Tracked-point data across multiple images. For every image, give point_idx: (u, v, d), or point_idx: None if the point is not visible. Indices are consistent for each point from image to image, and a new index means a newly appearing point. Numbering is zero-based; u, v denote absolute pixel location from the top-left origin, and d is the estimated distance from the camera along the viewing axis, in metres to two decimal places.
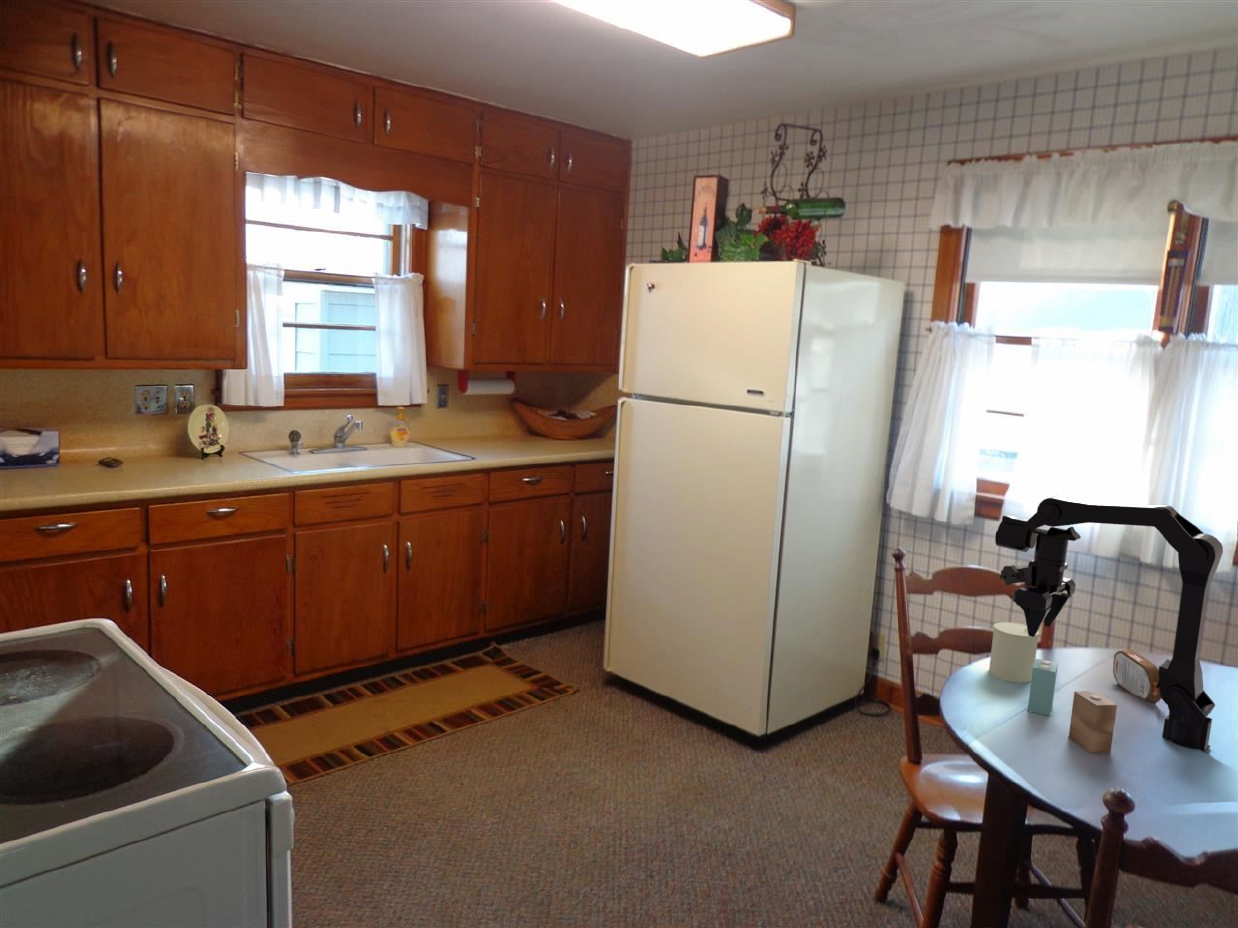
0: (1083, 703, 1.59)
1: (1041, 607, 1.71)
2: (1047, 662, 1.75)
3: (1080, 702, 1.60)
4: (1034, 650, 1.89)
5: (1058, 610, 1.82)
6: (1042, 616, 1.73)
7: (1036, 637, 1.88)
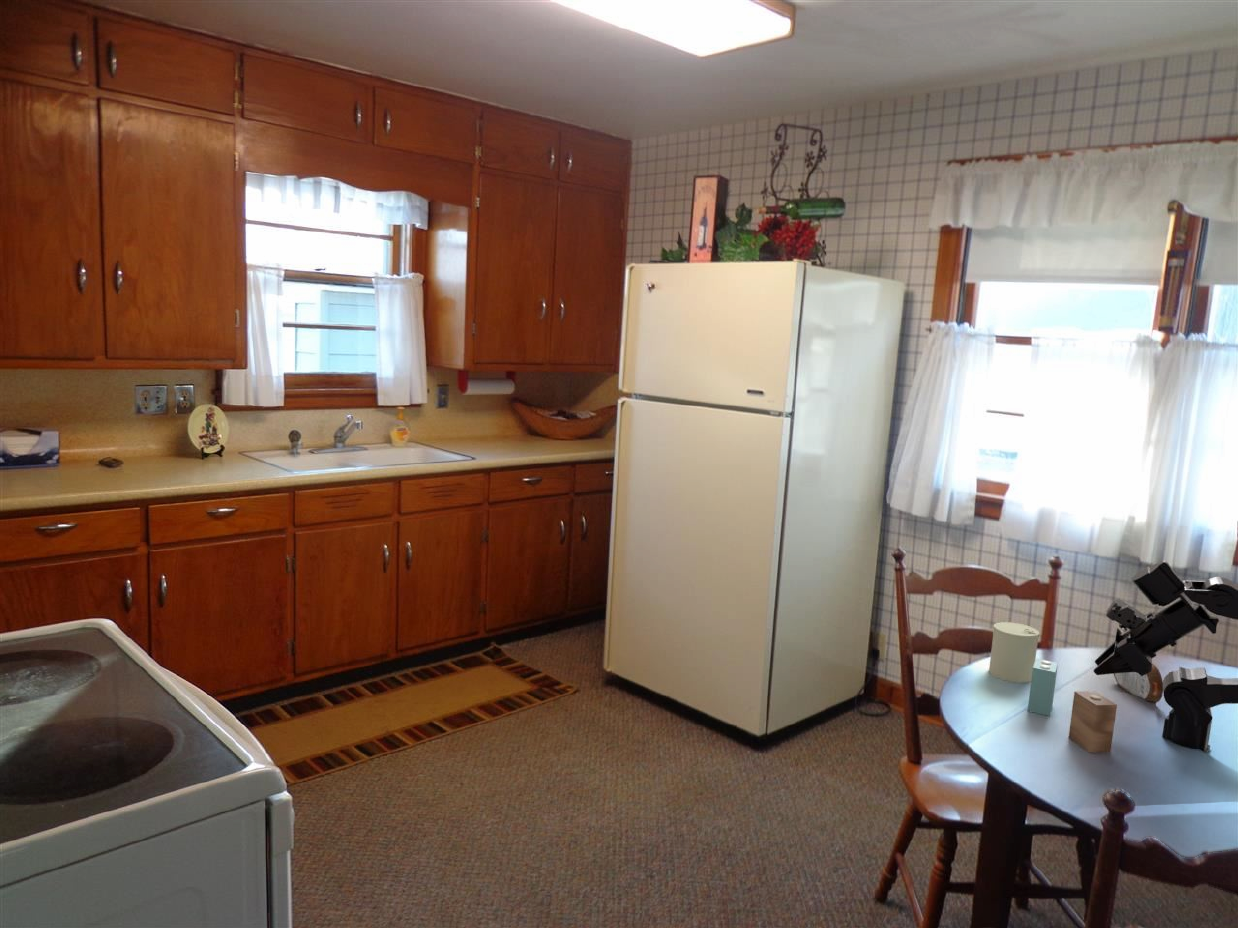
0: (1083, 703, 1.59)
1: (1141, 673, 1.58)
2: (1047, 662, 1.75)
3: (1080, 702, 1.60)
4: (1034, 650, 1.89)
5: None
6: (1126, 671, 1.63)
7: (1036, 637, 1.88)
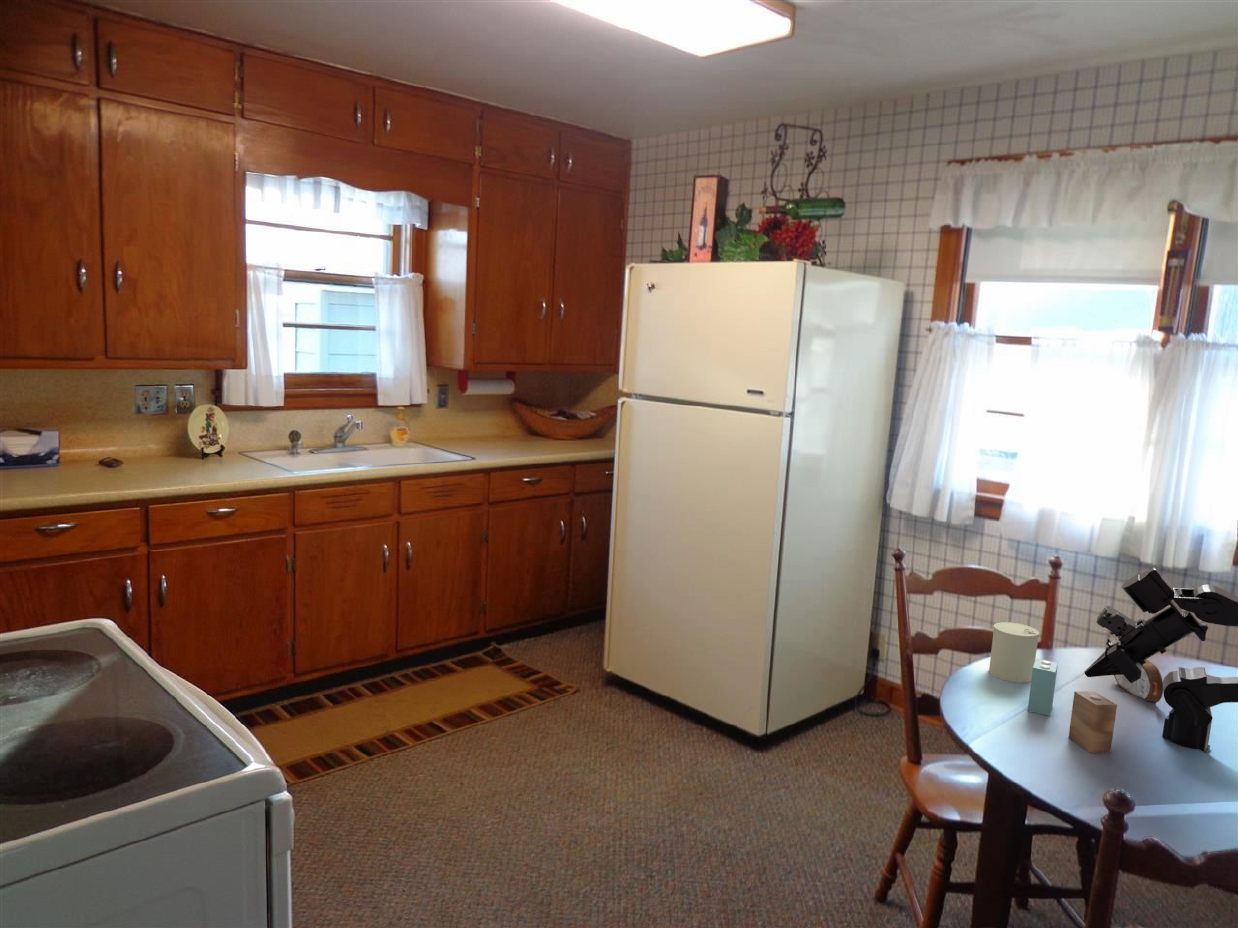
0: (1083, 703, 1.59)
1: (1130, 680, 1.59)
2: (1047, 662, 1.75)
3: (1080, 702, 1.60)
4: (1034, 650, 1.89)
5: None
6: (1117, 673, 1.66)
7: (1036, 637, 1.88)
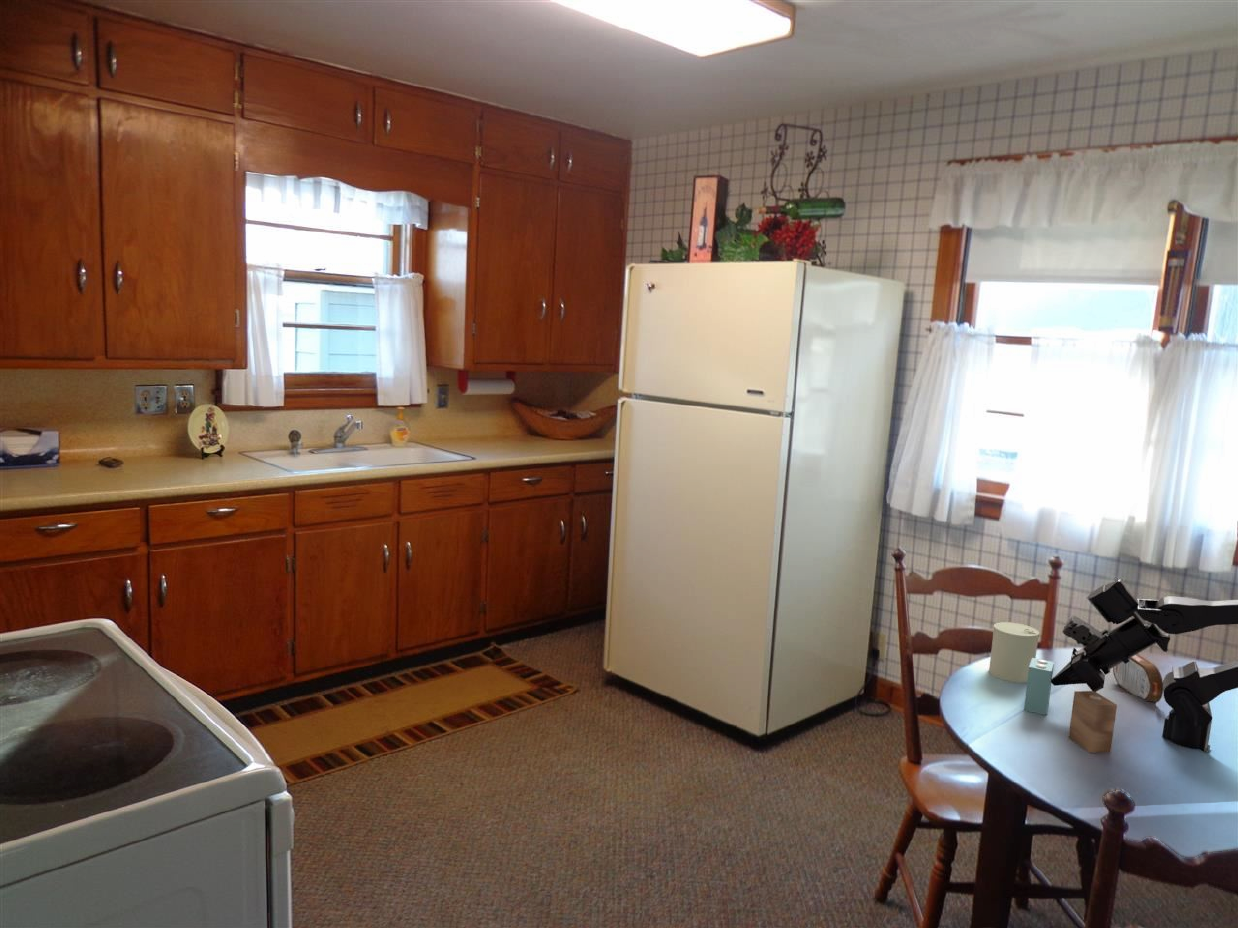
0: (1083, 703, 1.59)
1: (1093, 690, 1.62)
2: (1043, 661, 1.76)
3: (1080, 702, 1.60)
4: (1034, 650, 1.89)
5: None
6: (1082, 682, 1.69)
7: (1036, 637, 1.88)
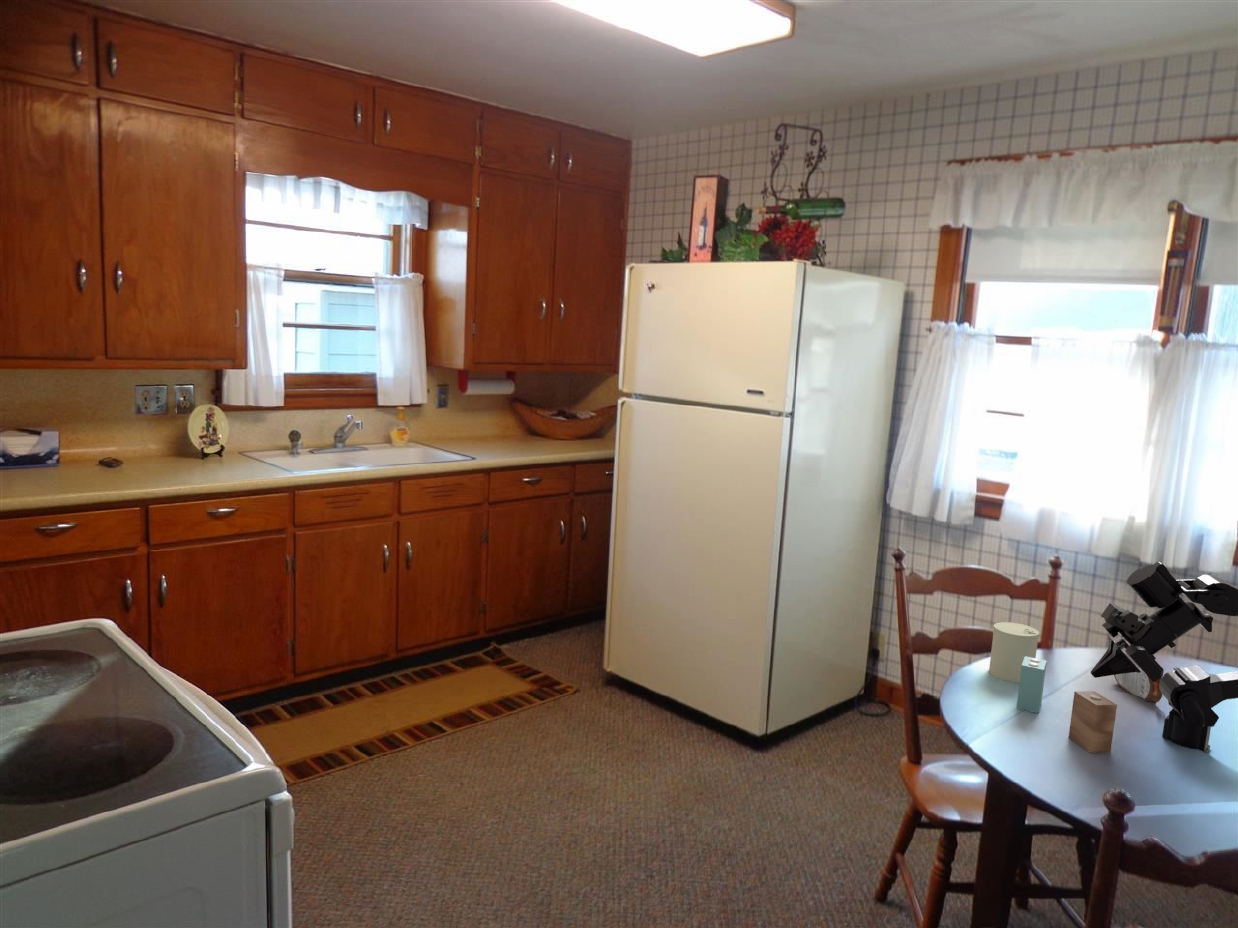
0: (1083, 703, 1.59)
1: (1153, 680, 1.55)
2: (1036, 660, 1.76)
3: (1080, 702, 1.60)
4: (1034, 650, 1.89)
5: None
6: (1126, 671, 1.62)
7: (1036, 637, 1.88)
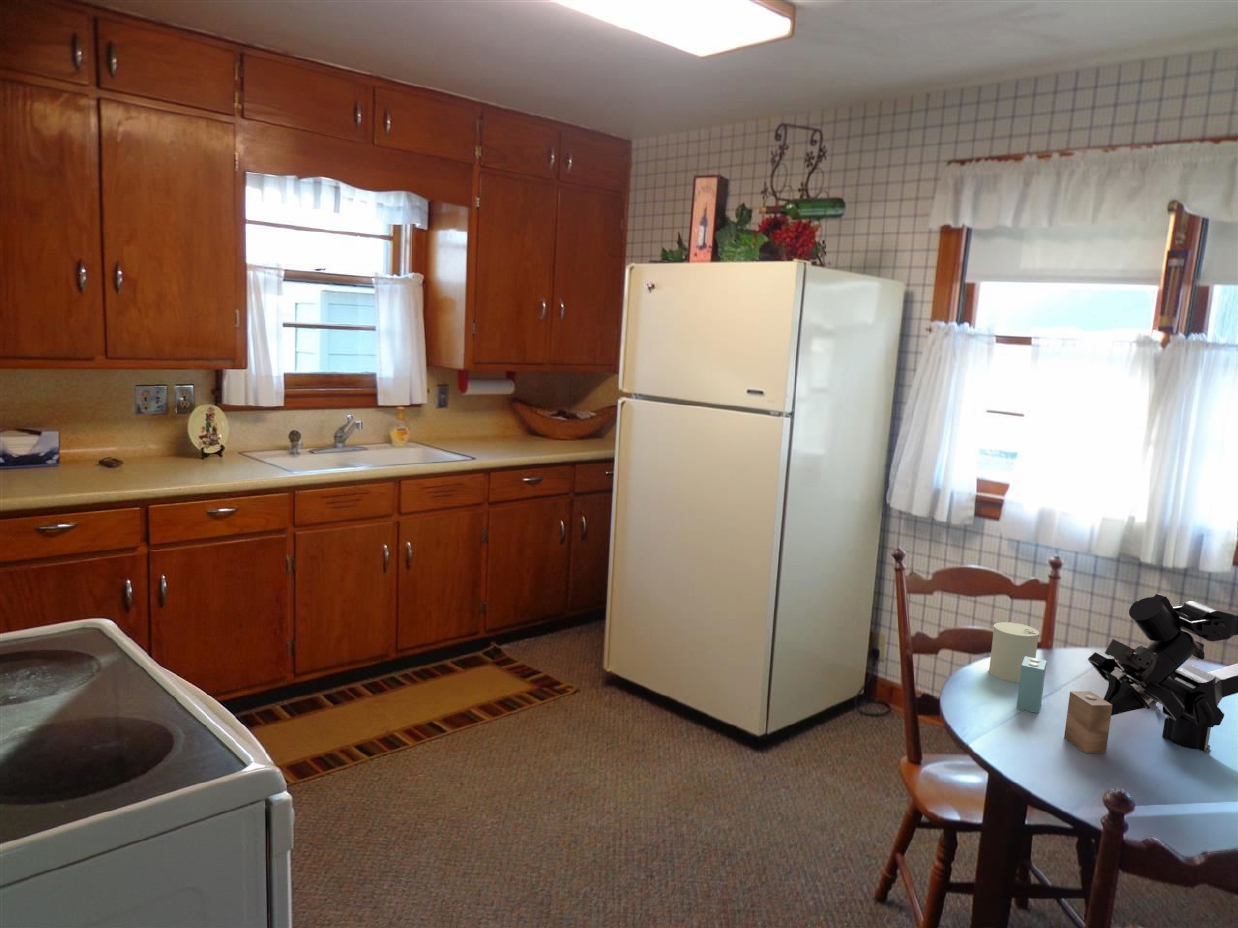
0: (1079, 703, 1.59)
1: (1177, 718, 1.51)
2: (1036, 660, 1.76)
3: (1076, 702, 1.60)
4: (1034, 650, 1.89)
5: None
6: (1134, 708, 1.58)
7: (1036, 637, 1.88)
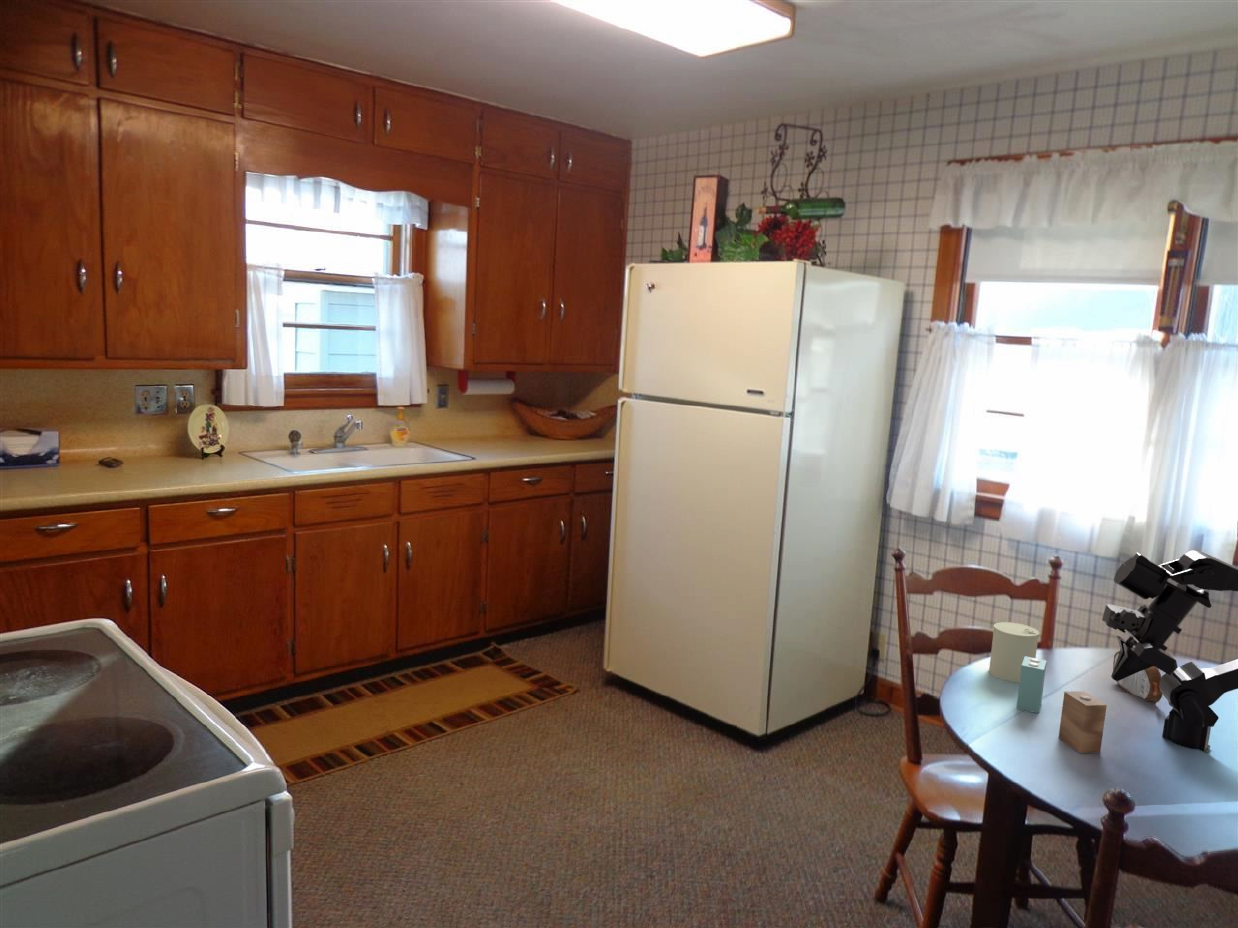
0: (1073, 703, 1.59)
1: (1170, 673, 1.54)
2: (1036, 660, 1.76)
3: (1070, 702, 1.60)
4: (1034, 650, 1.89)
5: None
6: (1144, 667, 1.62)
7: (1036, 637, 1.88)
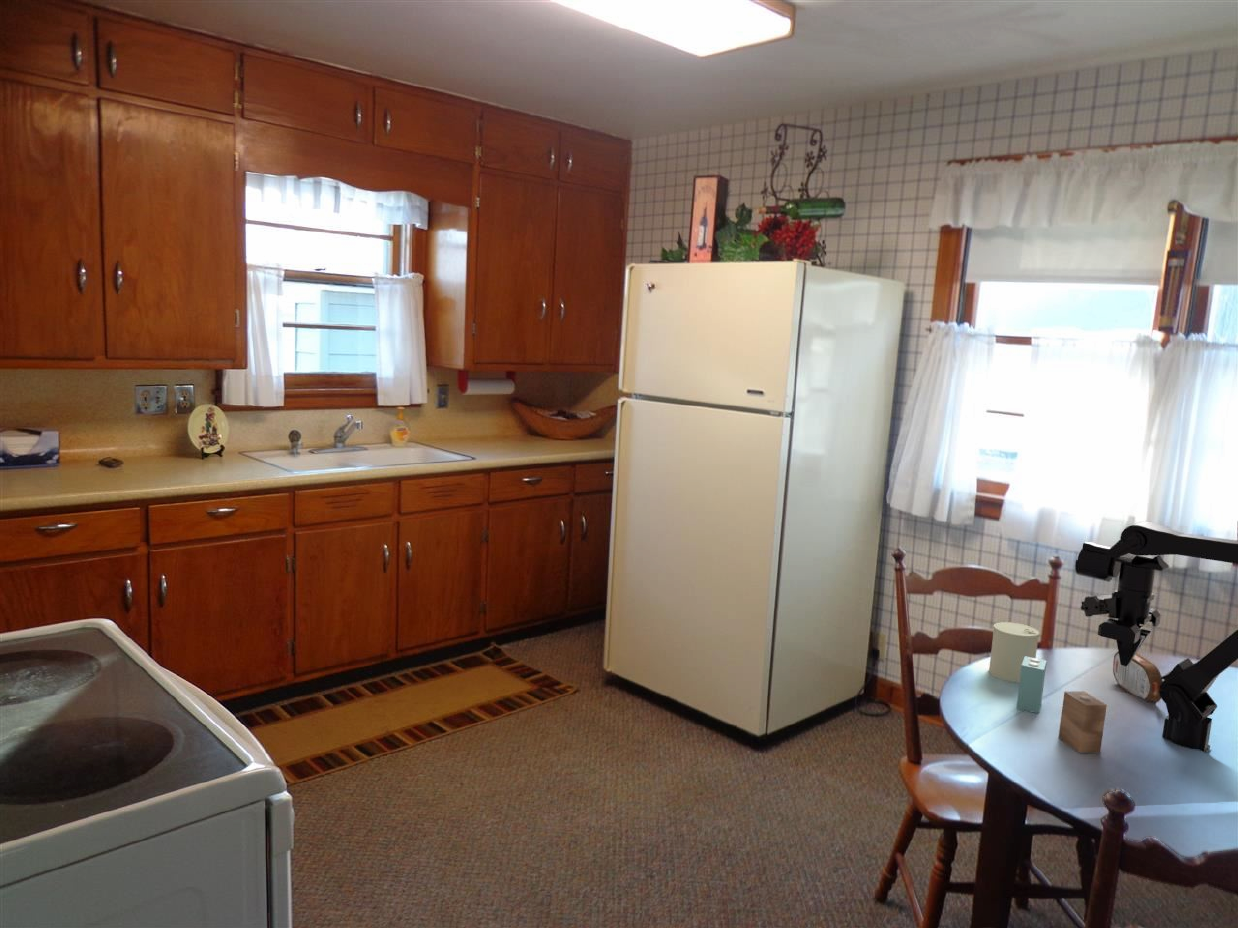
0: (1073, 703, 1.59)
1: (1130, 641, 1.61)
2: (1036, 660, 1.76)
3: (1070, 702, 1.60)
4: (1034, 650, 1.89)
5: None
6: (1136, 645, 1.67)
7: (1036, 637, 1.88)
